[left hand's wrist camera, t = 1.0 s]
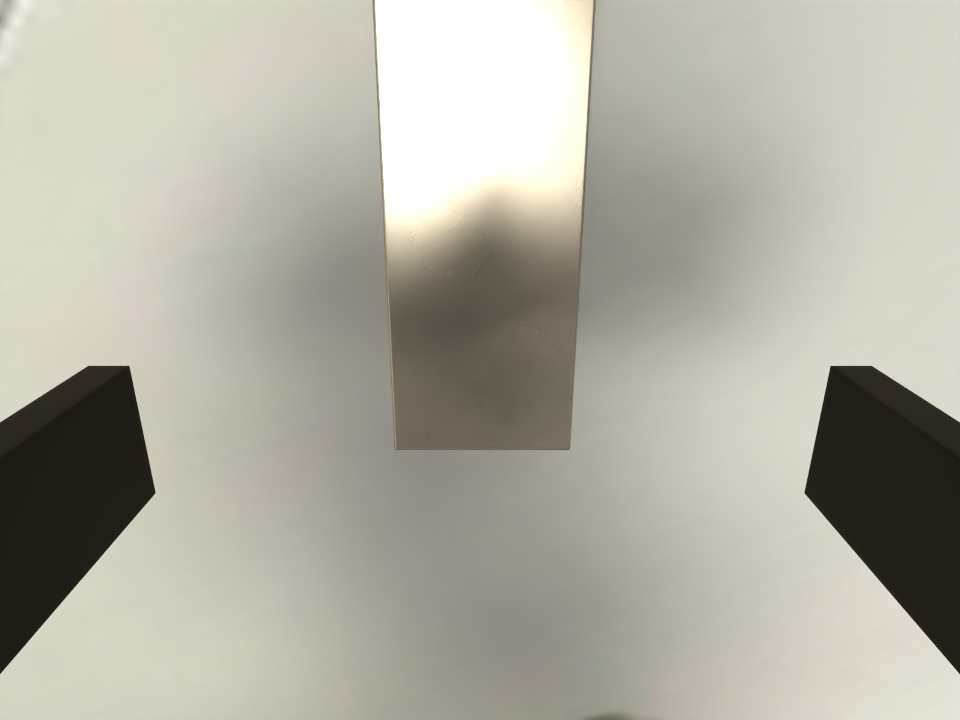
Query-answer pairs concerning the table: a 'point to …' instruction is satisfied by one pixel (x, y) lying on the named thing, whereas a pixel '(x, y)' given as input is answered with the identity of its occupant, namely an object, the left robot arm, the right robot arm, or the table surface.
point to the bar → (483, 215)
